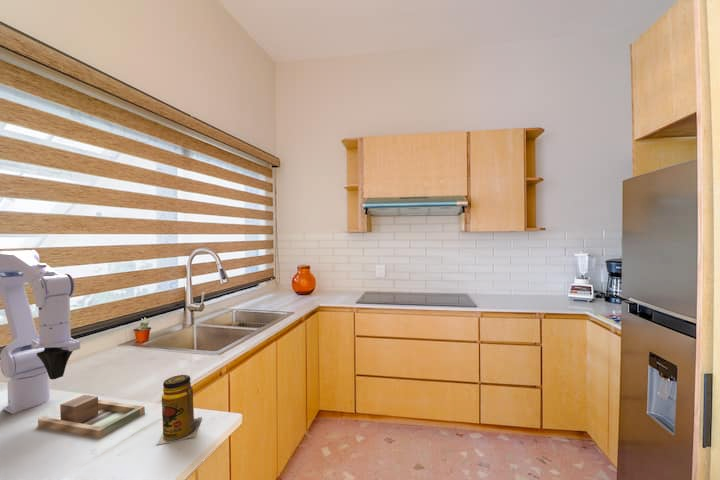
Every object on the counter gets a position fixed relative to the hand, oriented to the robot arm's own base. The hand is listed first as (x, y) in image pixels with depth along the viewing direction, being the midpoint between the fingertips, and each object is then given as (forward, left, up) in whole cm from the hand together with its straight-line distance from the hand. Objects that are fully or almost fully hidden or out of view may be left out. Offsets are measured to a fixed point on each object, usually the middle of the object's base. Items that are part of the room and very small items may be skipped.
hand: (56, 377), depth 80 cm
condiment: (+35, +9, -10) cm, 38 cm away
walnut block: (+8, +1, -9) cm, 12 cm away
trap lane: (+12, +2, -10) cm, 16 cm away
